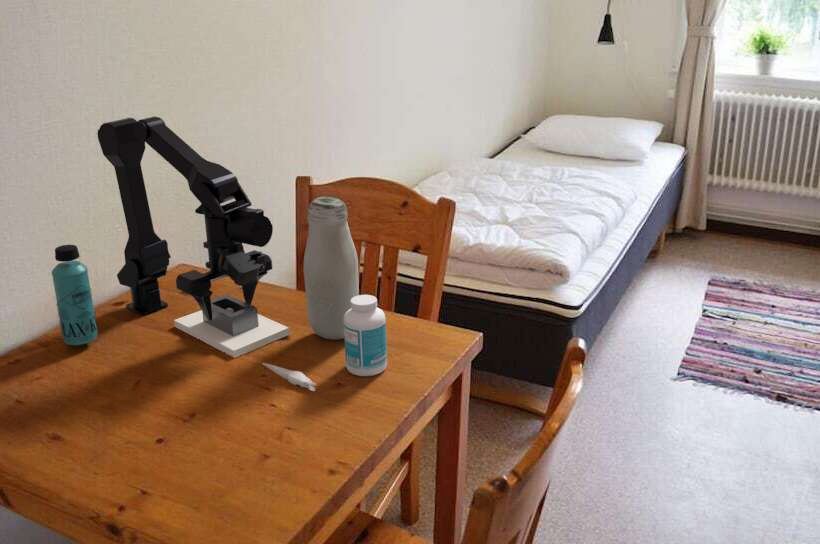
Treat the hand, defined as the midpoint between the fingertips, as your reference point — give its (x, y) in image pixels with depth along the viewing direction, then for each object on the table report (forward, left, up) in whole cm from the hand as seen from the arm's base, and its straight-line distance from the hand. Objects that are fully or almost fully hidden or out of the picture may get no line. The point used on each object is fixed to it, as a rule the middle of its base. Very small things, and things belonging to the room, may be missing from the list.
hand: (229, 312), depth 159 cm
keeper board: (0, 0, -4) cm, 4 cm away
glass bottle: (+17, +12, -4) cm, 21 cm away
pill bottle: (+31, +7, -4) cm, 32 cm away
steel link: (0, 0, -2) cm, 3 cm away
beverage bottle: (-16, -23, -4) cm, 28 cm away
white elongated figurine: (+23, -4, -4) cm, 24 cm away
